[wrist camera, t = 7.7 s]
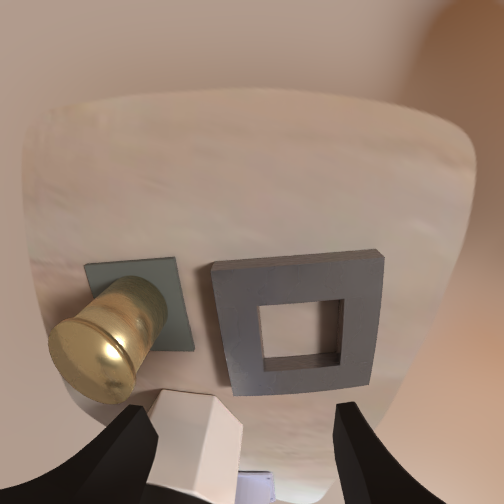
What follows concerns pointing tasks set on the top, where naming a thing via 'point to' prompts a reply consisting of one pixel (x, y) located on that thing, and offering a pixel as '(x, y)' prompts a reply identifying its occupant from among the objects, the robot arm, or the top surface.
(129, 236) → the top surface
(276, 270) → the housing
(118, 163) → the top surface
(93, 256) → the top surface
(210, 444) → the jar
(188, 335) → the mat
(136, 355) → the gold rounded piece
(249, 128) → the top surface
